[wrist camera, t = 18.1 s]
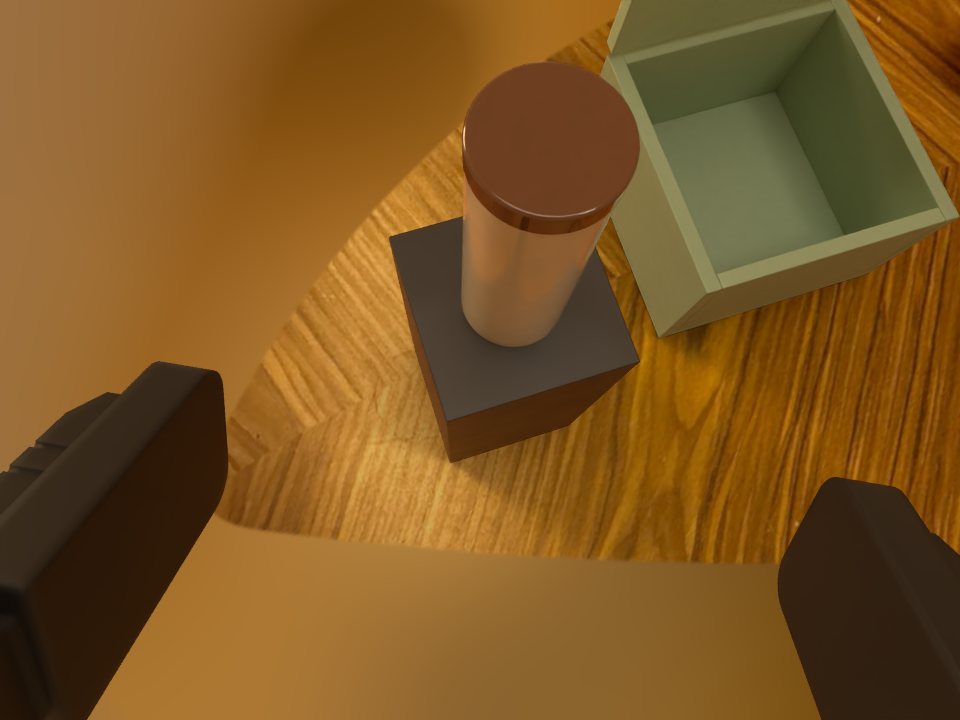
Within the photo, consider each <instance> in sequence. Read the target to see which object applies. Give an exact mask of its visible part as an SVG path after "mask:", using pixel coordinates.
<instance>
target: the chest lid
mask: <svg viewBox="0 0 960 720" xmlns="http://www.w3.org/2000/svg"><path fill="white" fill-rule="evenodd" d="M816 1H820V0H622V1H621V4H620V7H619V9H618V12H617V15H616V18H615V20H614V23H613V26H612V29H611V31H610V34H609V37H608V40H607V44H608V46H609V49H610V51H611V54H615V53H619V52H623V51H627V50H631V49H635V48H638V47H642V46H646V45H650V44H654V43H658V42H662V41H666V40H669V39H673V38H677V37H681V36H685V35H689V34H693V33H696V32H700V31H704V30H708V29H712V28H716V27H720V26H723V25H727V24H731V23H735V22H739V21H743V20H747V19H750V18H754V17H758V16H762V15H766V14H770V13H774V12H777V11H781V10H785V9H789V8H793V7H797V6H801V5H804V4H808V3H812V2H816Z"/></svg>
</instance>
